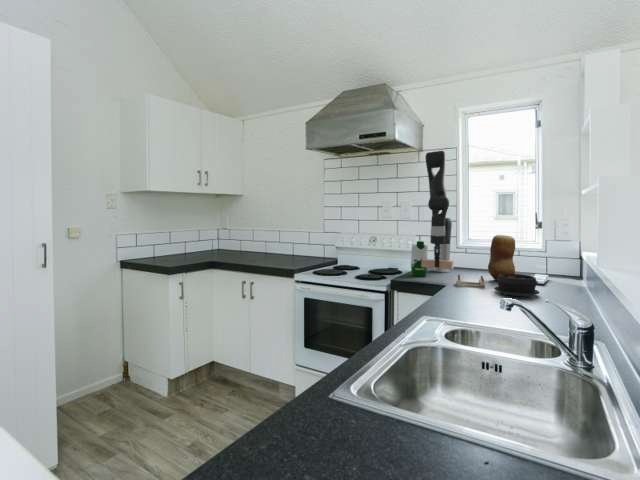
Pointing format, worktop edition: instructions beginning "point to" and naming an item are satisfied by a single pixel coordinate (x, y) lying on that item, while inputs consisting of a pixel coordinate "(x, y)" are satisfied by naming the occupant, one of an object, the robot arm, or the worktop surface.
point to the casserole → (517, 285)
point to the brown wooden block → (442, 264)
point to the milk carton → (418, 259)
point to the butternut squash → (501, 256)
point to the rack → (479, 284)
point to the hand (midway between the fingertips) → (437, 266)
